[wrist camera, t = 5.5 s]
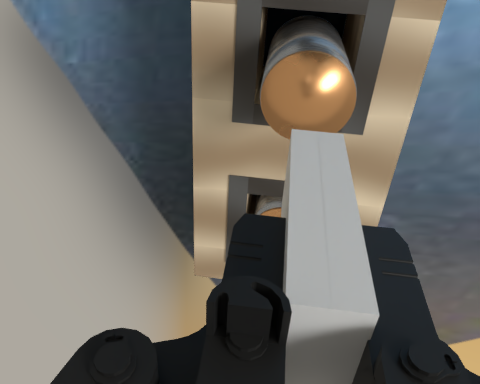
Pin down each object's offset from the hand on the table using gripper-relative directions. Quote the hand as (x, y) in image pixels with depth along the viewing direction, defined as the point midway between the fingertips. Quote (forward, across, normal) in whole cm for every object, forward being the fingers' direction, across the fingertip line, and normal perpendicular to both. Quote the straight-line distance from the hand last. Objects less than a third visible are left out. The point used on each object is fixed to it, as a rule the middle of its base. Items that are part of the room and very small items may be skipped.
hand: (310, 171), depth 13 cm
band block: (+18, 0, -5) cm, 18 cm away
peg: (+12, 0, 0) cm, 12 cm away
